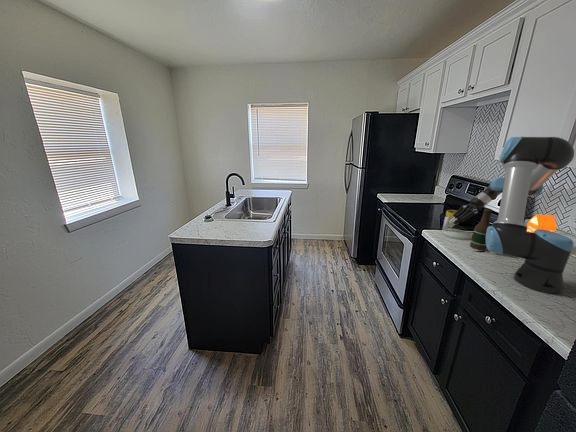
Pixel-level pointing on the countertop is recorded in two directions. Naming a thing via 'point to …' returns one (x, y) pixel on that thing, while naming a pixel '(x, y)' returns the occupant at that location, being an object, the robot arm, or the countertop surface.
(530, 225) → the orange juice
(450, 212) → the plant pot
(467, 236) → the capstan dial
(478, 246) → the beer bottle
